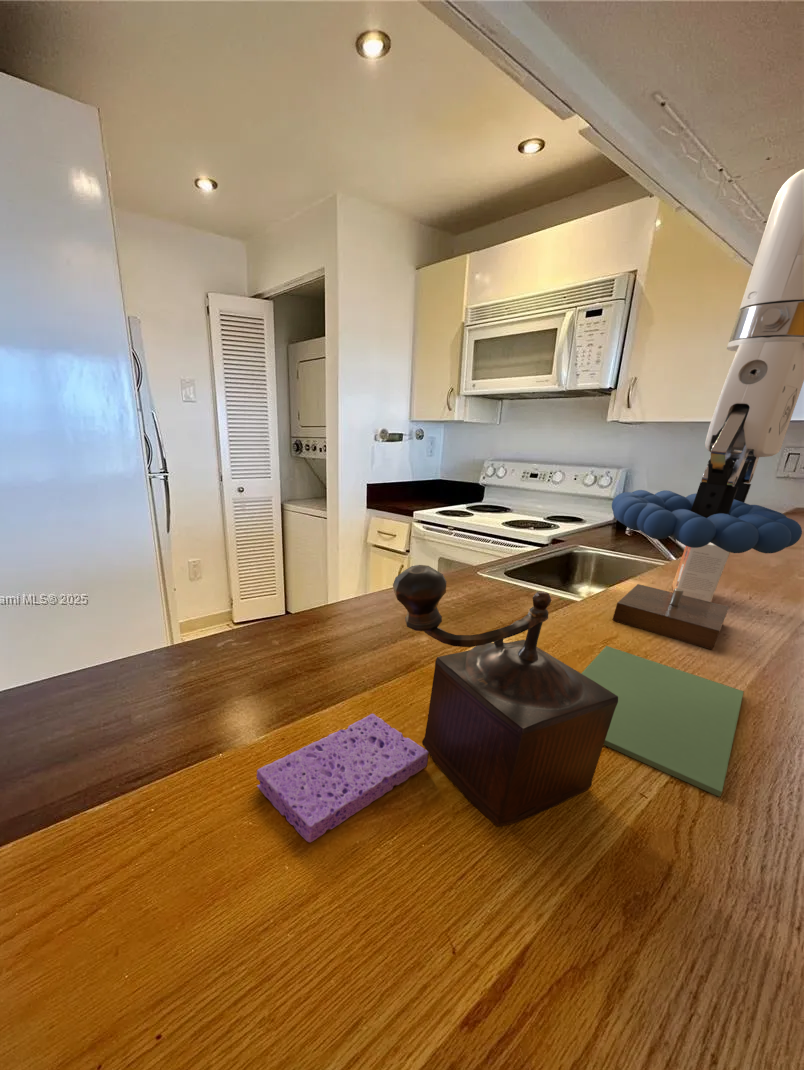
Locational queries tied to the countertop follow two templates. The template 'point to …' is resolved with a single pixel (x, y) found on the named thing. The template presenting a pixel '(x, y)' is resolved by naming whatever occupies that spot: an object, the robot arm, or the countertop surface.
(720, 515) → the ring
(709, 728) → the mat
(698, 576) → the small box
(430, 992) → the countertop surface
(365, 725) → the sponge
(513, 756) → the dark brown coffee grinder
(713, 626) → the platform
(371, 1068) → the countertop surface
